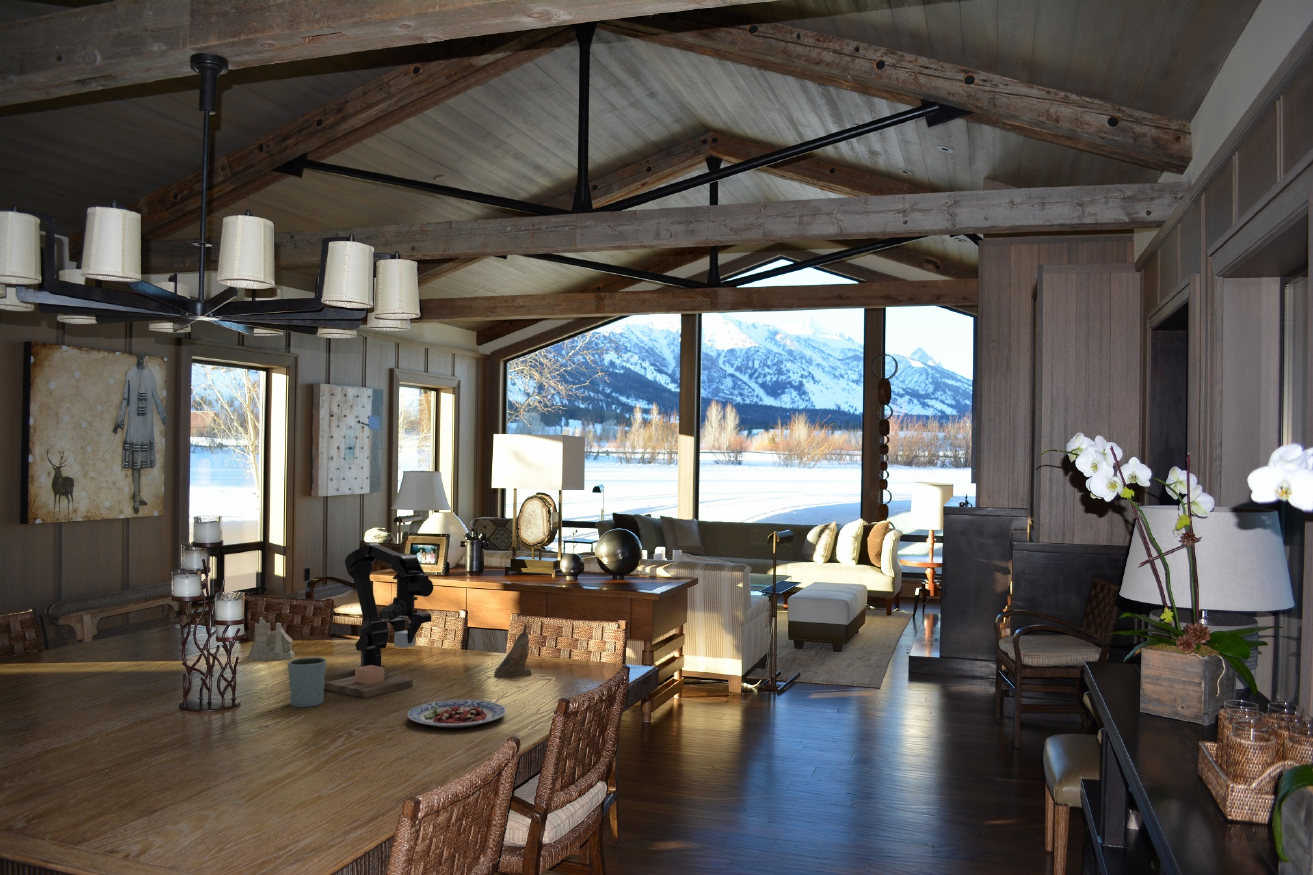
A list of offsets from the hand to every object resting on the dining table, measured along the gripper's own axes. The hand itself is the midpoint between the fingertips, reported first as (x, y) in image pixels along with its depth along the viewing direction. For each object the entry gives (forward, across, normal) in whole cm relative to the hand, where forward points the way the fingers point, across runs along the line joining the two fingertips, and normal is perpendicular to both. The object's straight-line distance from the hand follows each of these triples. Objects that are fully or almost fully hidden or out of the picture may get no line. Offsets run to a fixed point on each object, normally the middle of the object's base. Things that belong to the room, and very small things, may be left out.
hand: (404, 642), depth 299 cm
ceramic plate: (+11, +52, -28) cm, 60 cm away
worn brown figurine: (+11, +28, +21) cm, 37 cm away
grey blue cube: (+1, 0, 0) cm, 1 cm away
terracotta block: (+8, +5, -18) cm, 20 cm away
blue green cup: (+11, +6, -41) cm, 43 cm away
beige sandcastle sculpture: (+11, -60, -6) cm, 61 cm away
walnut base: (+10, +5, -18) cm, 21 cm away
